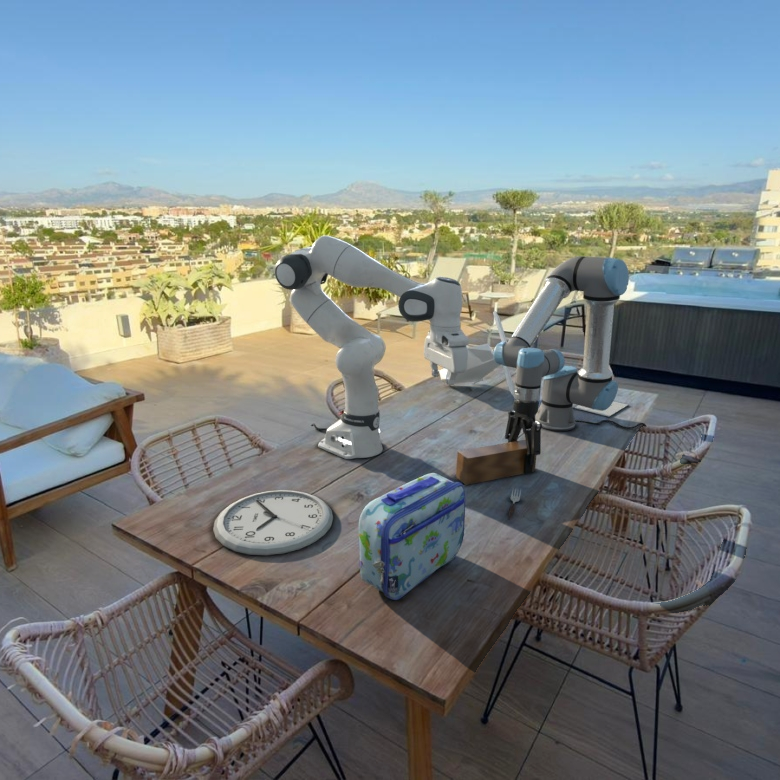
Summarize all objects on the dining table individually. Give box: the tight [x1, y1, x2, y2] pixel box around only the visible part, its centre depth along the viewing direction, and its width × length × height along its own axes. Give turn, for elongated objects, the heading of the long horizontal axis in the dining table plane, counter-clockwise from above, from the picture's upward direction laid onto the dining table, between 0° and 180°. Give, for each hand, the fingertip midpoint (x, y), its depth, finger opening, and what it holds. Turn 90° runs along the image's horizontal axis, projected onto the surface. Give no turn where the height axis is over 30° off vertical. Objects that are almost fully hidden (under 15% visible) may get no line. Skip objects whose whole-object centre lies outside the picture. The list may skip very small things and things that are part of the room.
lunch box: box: [358, 472, 466, 601], centre depth 112 cm, size 26×11×21 cm, turn 134°
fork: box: [508, 487, 522, 521], centre depth 143 cm, size 3×16×2 cm, turn 160°
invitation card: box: [573, 400, 629, 418], centre depth 226 cm, size 21×1×15 cm
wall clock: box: [212, 489, 334, 556], centre depth 134 cm, size 30×2×30 cm
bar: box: [455, 439, 538, 486], centre depth 161 cm, size 25×6×9 cm, turn 113°
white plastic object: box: [438, 310, 517, 397], centre depth 245 cm, size 37×45×31 cm
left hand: (442, 380), depth 156 cm, fingers open, 8 cm apart
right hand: (519, 467), depth 166 cm, fingers open, 8 cm apart
